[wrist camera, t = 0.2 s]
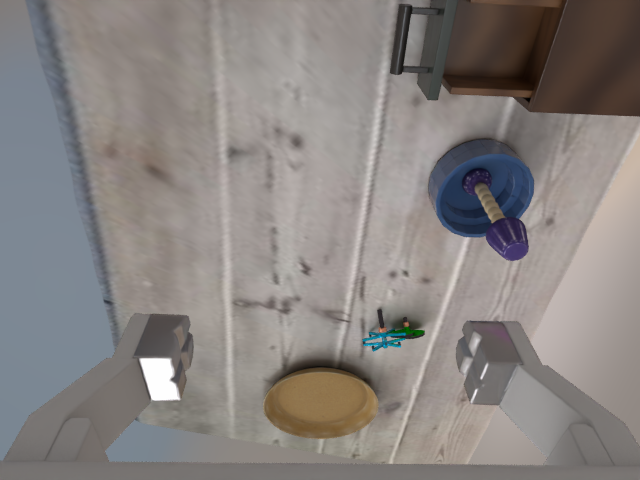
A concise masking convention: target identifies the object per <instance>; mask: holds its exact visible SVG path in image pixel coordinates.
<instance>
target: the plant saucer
mask: <svg viewBox="0 0 640 480" xmlns="http://www.w3.org/2000/svg"><path fill="white" fill-rule="evenodd" d="M378 406H379V403H378V399H377V396H376V394H375V393H374V391H373V390H372V388H371V387H370V386H369V385H368V384H367V383H366V382H365V381H363V380H362V379H361V378H359V377H357V376H355V375H354V374H351V373H349V372H346V371H343V370H339V369H334V368H309V369H304V370H300V371H297V372H294V373H291V374H289V375H287V376H285V377H284V378H282V379H280V380H279V381H278V382H277V383H275V384H274V385H273V386H272V387H271V389H270V390H269V391H268V393H267V394H266V396H265V398H264V402H263V410H264V414H265V416H266V417H267V419H268V420H269V421H270V422H271V423H272V424H273V425H274V426H275V427H277V428H278V429H280V430H282V431H284V432H286V433H289V434H292V435H295V436H299V437H304V438H312V439H329V438H337V437H341V436H345V435H349V434H351V433H354V432H356V431H358V430H360V429H362V428H364V427H365V426H366V425H368V424H369V423H370V422H371V421H372V420H373V419H374V417H375V416H376V414H377V411H378Z"/></svg>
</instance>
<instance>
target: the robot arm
mask: <svg viewBox="0 0 640 480" xmlns="http://www.w3.org/2000/svg"><path fill="white" fill-rule="evenodd" d="M189 328H190V320H189V316H187V315H168V314H139V313H135V314H134V315H133V316H132V317H131V318H130V320H129V322H128V325H127V327H126V329H125V331H124V333H123V335H122V338H121V340H120V342H119V344H118V346H117V348H116V350H115V353H114V355H113V357H112V358H106V359H105V360H103V361H102V362H101V363H99V364H98V365H97V366H95V367H94V368H93V369H91V370H90V371H88V372H87V373H86V374H84V375H83V376H82V377H80V378H79V379H78V380H76V381H75V382H74V383H72V384H71V385H70V386H68V387H67V388H66V389H64V390H63V391H62V392H60V393H59V394H57V395H56V396H55V397H53V398H52V399H51V400H49V401H48V402H47V403H45V404H44V405H43V406H41V407H40V408H39V409H37V410H36V411H35V412H33V413H32V414H31V415H29V417H28V419H27V420H26V422H25V424H24V425H23V427H22V429H21V431H20V432H19V434H18V436H17V437H16V439H15V441H14V443H13V444H12V446H11V448H10V449H9V451H8V453H7V455H6V456H5V458H4V460H3V461H0V480H640V446H639V445H638V443H637V442H636V440H635V438H634V437H633V435H632V434H631V432H630V431H629V429H628V427H627V426H626V424H625V423H624V422H622V421H621V420H620V419H619V418H617V417H616V416H615V415H613V414H612V413H611V412H609V411H608V410H606V409H605V408H604V407H603V406H601V405H600V404H598V403H597V402H596V401H594V400H593V399H592V398H590V397H589V396H588V395H586V394H585V393H584V392H582V391H581V390H580V389H578V388H577V387H576V386H574V385H573V384H572V383H570V382H569V381H568V380H566V379H565V378H564V377H562V376H561V375H560V374H558V373H557V372H555V371H554V370H553V369H552V368H550V367H549V366H545V365H542V363H541V361H540V359H539V358H538V356H537V354H536V352H535V350H534V348H533V346H532V345H531V343H530V341H529V339H528V337H527V335H526V333H525V332H524V330H523V328H522V326H521V324H520V323H519V322H513V321H500V322H499V321H466V323H465V324H464V326H463V329H462V331H463V334H464V337H462V338H461V339H460V340H458V344H457V347H456V360H457V365H458V368H459V372H461V373H462V374H463V375H464V376H465V377H466V380H465V382H464V387H465V390H466V392H467V395H468V398H469V401H470V404H479V405H500V406H499V407H500V408H501V409H502V410H503V411H504V412H505V414H506V415H507V416H508V417H509V418H510V419H511V420H512V421H513V422H514V423H515V424H516V425H517V426H518V427H519V428H520V430H521V431H522V432H523V433H524V434H525V435H526V436H527V437H528V438H529V439H530V440H531V441H532V442H533V443H534V444H535V445H536V446H537V448H538V449H539V450H540V451H541V452H542V453H543V454H544V455H545V456H546V457H547V460H546V461H545V463H544V464H543V465H465V464H327V463H326V464H325V463H323V464H322V463H210V462H207V463H206V462H205V463H204V462H109V460H108V457H107V455H106V453H105V450H106V449H107V448H108V447H109V446H110V445H111V444H112V443H113V442H114V440H116V439H117V438H118V437H119V435H120V434H121V433H122V432H123V431H124V430H125V429H126V428H127V427H128V426H129V425H130V424H131V423H132V422H133V421H134V420H135V418H136V417H137V416H138V415H139V414H140V413H141V412H142V411H143V410H144V409H145V408H146V407H147V406H148V405H149V404H150V403H151V402H150V401H158V400H181V398H182V395H183V391H184V388H185V384H186V381H187V379H186V374H185V371H186V370H187V369H189V368H190V366H191V362H192V358H193V349H194V345H193V336H192V334H191V333H189V332H188V331H189Z"/></svg>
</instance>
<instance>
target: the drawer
mask: <svg viewBox="0 0 640 480" xmlns="http://www.w3.org/2000/svg"><path fill="white" fill-rule="evenodd" d="M562 2H563V0H431V6H430V8H423V7H412V5H410V4H399V8H398V16H397V23H396V31H395V38H394V46H393V53H392V60H391V68H390V73H391V74H395V75H400V74H402V72H409V73H419V75H418V81H417V84H418V86H419V87H420V89H421V90H422V92H423V93H424V95H425V96H426V98H427V99H428V100H438V97H439V92H440V87H441V83H442V84H443V86H444V87H445V88H446V89H447V90H448V92H449V93H450V94H459V95H483V96H507V97H530V98H531V97H532V94H533V91H534V88H535V85H536V82H537V79H538V76H539V73H540V69H541V66H542V63H543V60H544V57H545V54H546V51H547V48H548V45H549V42H550V39H551V36H552V33H553V30H554V27H555V24H556V21H557V18H558V15H559V12H560V8H561V5H562ZM411 14H424V15H429V17H428V23H427V29H426V35H425V41H424V46H423V52H422V58H421V64H420V66H403V64H404V57H405V51H406V44H407V38H408V31H409V24H410V18H411Z"/></svg>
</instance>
